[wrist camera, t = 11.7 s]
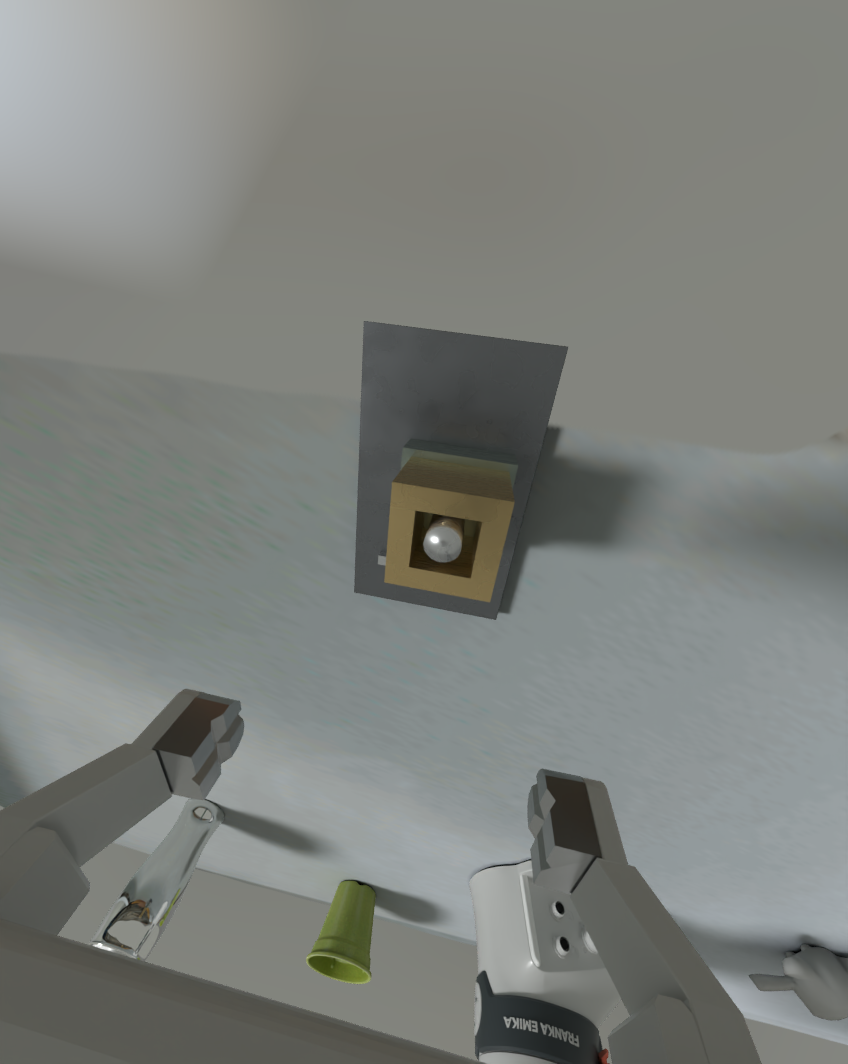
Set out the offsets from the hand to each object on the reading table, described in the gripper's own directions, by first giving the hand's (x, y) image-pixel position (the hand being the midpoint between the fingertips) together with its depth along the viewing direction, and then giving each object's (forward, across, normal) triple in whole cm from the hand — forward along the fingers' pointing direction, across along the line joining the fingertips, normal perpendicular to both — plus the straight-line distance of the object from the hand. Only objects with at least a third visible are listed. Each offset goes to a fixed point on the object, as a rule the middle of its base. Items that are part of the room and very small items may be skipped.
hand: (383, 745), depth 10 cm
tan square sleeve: (+16, 0, 0) cm, 16 cm away
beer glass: (+20, +29, +56) cm, 65 cm away
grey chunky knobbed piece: (+20, -54, +52) cm, 78 cm away
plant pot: (+20, +5, +68) cm, 71 cm away
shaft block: (+19, 0, 0) cm, 19 cm away
